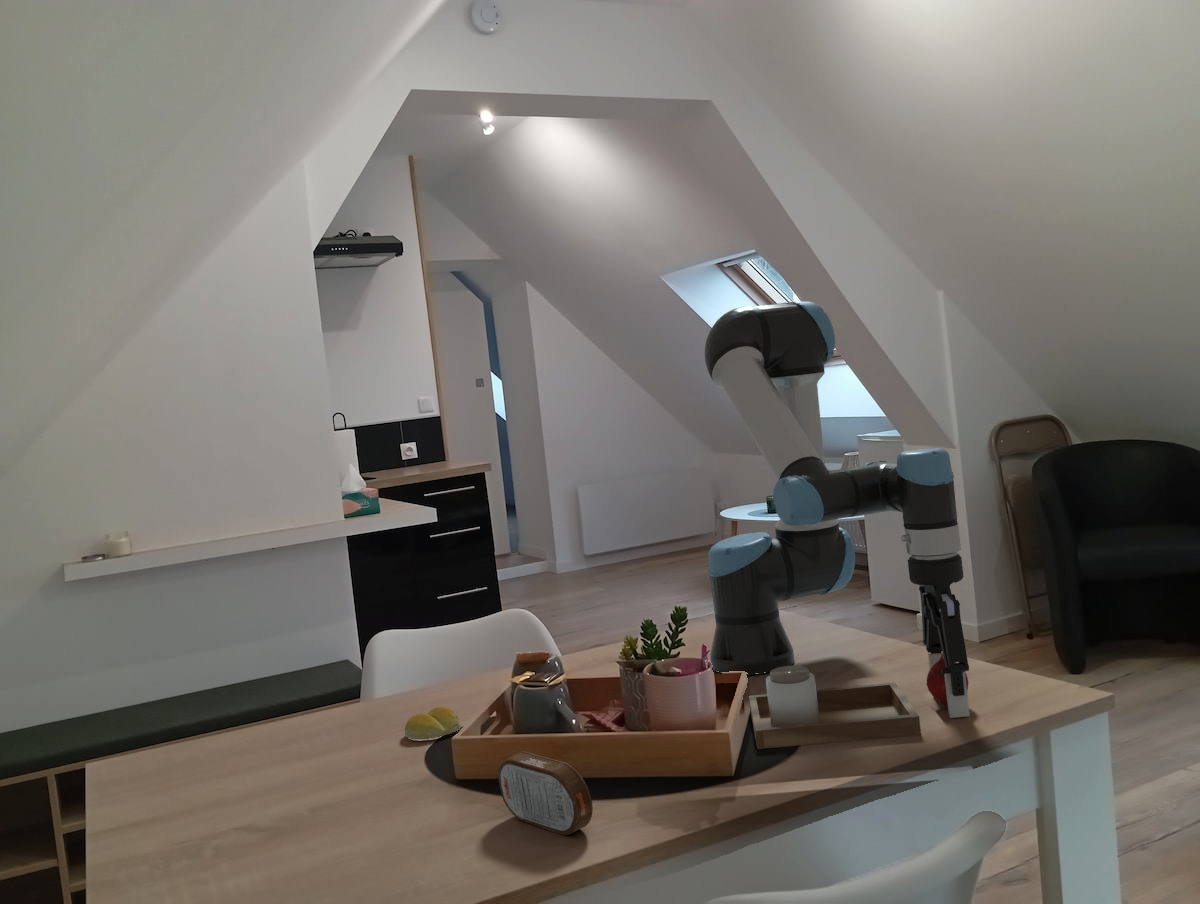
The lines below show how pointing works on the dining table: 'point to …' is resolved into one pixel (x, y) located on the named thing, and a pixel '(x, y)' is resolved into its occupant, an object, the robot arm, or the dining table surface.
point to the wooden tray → (841, 717)
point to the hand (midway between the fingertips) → (950, 705)
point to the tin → (545, 793)
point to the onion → (939, 681)
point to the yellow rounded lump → (432, 724)
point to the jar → (792, 696)
